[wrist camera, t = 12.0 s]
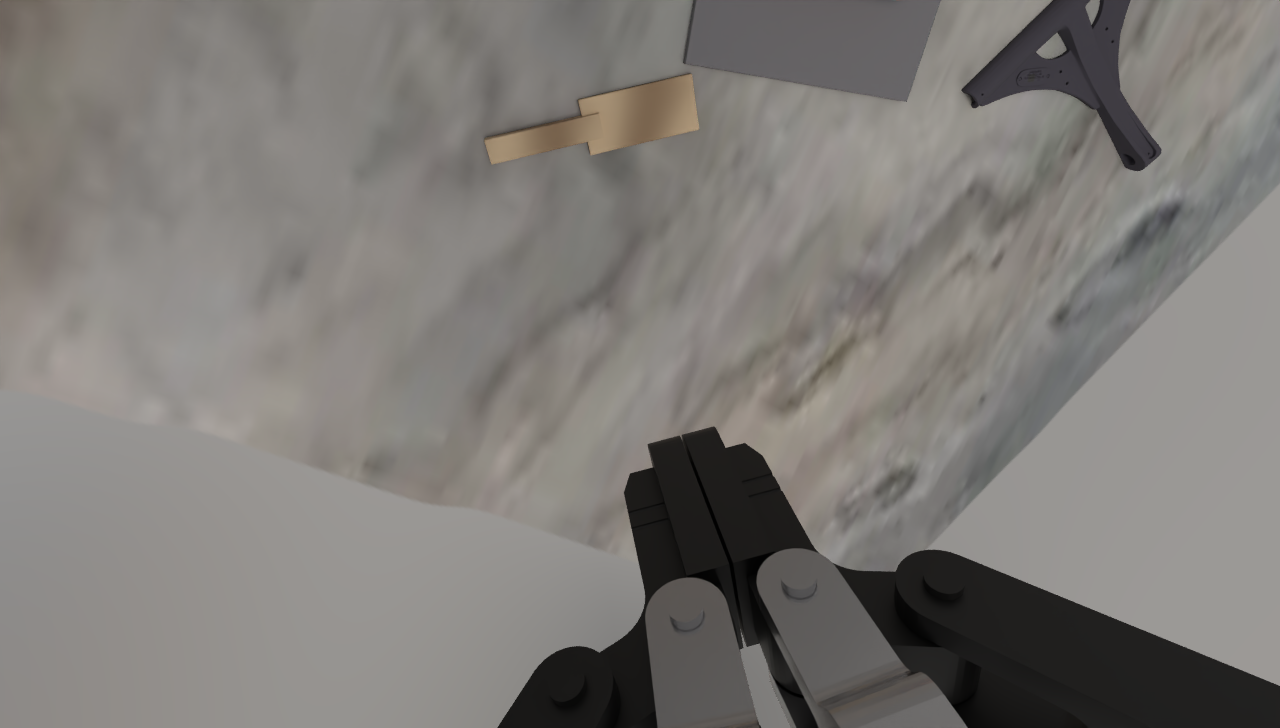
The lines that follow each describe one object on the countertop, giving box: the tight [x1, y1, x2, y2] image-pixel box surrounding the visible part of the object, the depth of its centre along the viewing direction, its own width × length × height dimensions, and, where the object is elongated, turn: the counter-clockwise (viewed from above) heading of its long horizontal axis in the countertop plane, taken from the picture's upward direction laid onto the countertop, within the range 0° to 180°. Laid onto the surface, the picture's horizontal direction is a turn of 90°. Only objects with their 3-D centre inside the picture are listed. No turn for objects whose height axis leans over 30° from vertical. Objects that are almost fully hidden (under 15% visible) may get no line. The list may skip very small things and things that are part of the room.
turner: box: [484, 74, 699, 164], centre depth 36 cm, size 13×3×1 cm, turn 101°
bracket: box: [962, 0, 1161, 171], centre depth 40 cm, size 14×15×3 cm
